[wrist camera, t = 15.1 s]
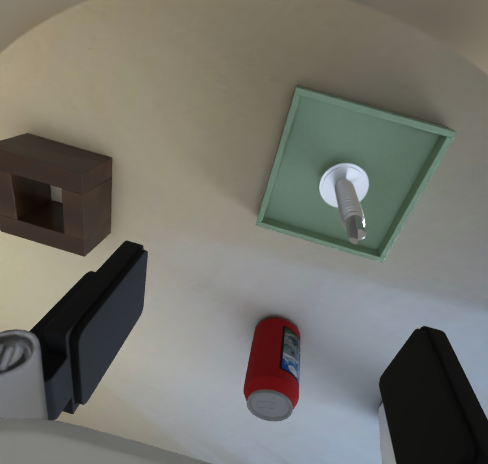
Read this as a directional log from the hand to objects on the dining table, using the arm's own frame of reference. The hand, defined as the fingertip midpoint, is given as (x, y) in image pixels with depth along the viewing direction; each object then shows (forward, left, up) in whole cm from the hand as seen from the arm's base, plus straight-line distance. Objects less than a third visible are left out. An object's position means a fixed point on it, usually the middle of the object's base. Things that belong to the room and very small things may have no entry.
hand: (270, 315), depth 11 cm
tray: (+3, +6, -27) cm, 28 cm away
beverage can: (+28, +6, -27) cm, 39 cm away
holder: (+14, -26, -27) cm, 40 cm away
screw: (+3, +6, -26) cm, 27 cm away
